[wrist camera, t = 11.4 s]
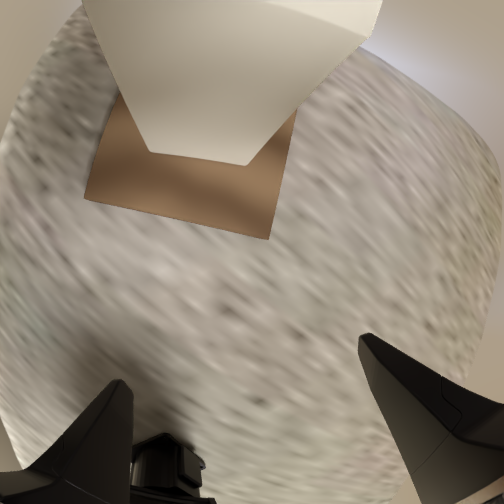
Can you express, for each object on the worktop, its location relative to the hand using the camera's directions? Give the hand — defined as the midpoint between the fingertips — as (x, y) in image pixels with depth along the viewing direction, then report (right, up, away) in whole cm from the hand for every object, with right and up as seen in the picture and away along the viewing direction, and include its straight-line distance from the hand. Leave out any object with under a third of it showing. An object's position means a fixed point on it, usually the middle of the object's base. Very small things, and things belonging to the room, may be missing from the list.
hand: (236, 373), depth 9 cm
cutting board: (-3, +14, +11) cm, 18 cm away
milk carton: (-3, +14, +9) cm, 17 cm away
